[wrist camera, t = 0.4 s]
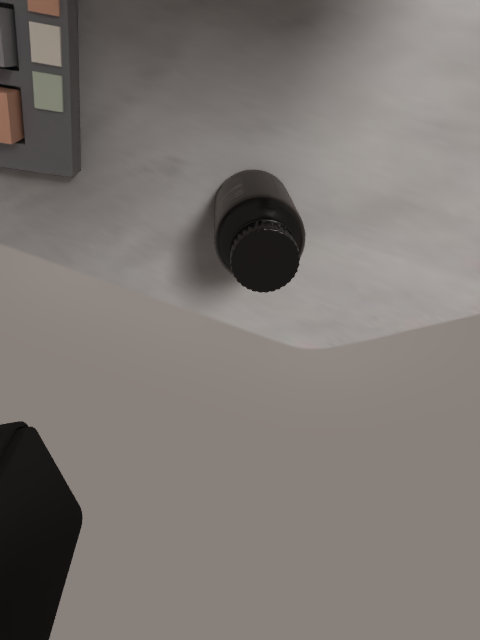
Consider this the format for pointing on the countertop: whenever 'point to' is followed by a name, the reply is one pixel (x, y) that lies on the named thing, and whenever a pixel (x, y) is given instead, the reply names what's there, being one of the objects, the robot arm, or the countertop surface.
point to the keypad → (42, 84)
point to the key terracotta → (10, 116)
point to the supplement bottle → (258, 230)
